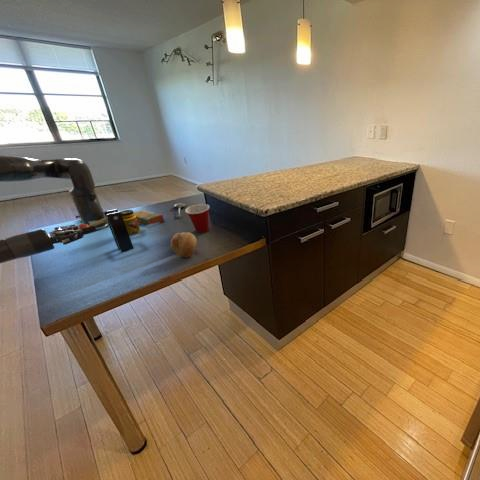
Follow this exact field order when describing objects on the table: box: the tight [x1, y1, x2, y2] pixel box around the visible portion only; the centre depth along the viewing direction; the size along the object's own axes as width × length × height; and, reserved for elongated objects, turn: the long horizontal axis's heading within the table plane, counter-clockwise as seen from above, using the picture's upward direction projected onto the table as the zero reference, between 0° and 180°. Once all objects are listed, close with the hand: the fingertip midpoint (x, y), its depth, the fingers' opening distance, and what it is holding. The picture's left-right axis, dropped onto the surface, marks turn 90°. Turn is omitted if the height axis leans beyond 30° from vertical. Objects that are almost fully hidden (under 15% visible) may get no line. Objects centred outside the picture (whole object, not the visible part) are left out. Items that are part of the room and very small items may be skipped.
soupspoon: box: [174, 202, 187, 219], centre depth 150 cm, size 22×3×7 cm
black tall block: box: [103, 208, 135, 253], centre depth 105 cm, size 12×9×18 cm
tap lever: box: [78, 211, 115, 229], centre depth 99 cm, size 13×4×4 cm, turn 139°
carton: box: [133, 209, 165, 226], centre depth 136 cm, size 8×16×4 cm, turn 64°
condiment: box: [120, 209, 142, 236], centre depth 119 cm, size 7×8×12 cm
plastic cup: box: [184, 203, 210, 234], centre depth 125 cm, size 11×11×12 cm
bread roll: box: [170, 231, 198, 258], centre depth 108 cm, size 10×15×8 cm, turn 25°
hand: (93, 226), depth 98 cm, fingers closed on tap lever, 3 cm apart
